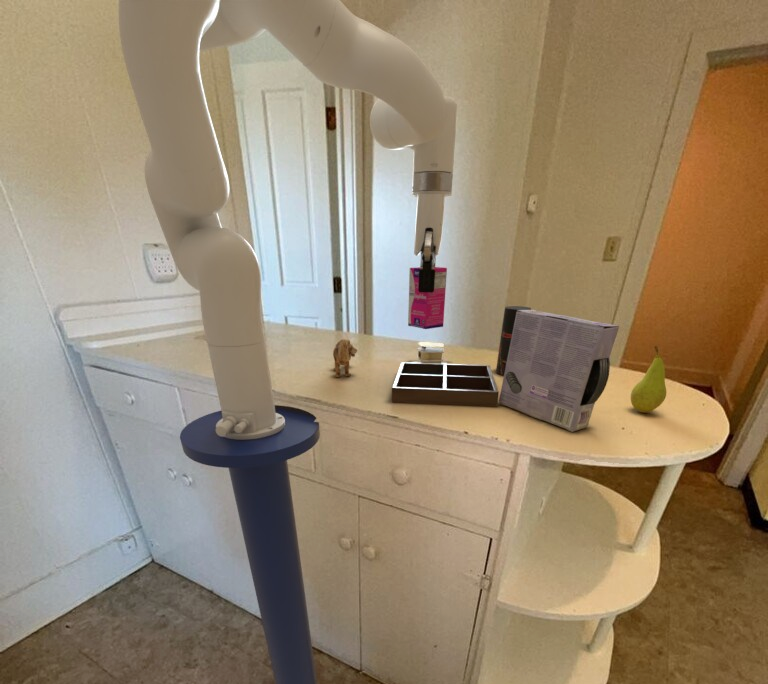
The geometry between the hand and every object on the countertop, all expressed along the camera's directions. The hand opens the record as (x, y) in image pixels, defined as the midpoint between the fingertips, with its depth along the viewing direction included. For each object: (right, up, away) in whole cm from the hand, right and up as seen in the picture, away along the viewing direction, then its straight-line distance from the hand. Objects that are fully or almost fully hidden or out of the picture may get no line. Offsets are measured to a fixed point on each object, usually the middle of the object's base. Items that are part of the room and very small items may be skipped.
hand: (426, 289), depth 90 cm
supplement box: (0, -6, +4) cm, 8 cm away
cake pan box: (+21, -29, -9) cm, 37 cm away
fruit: (+42, -28, -7) cm, 51 cm away
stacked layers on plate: (+3, -9, +23) cm, 25 cm away
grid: (+4, -19, +6) cm, 21 cm away
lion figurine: (-19, -12, +17) cm, 28 cm away
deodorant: (+22, -12, +18) cm, 31 cm away
